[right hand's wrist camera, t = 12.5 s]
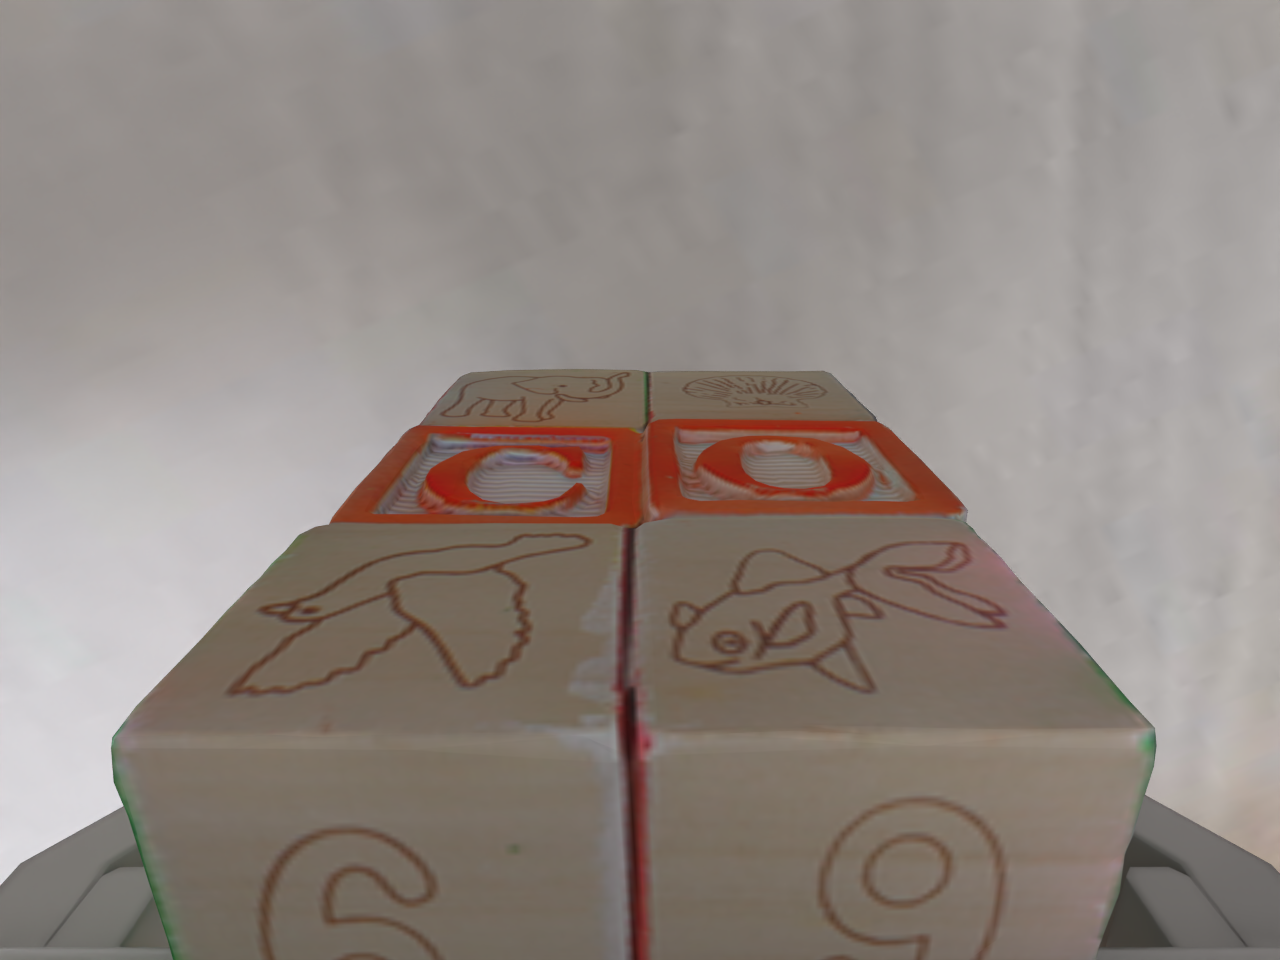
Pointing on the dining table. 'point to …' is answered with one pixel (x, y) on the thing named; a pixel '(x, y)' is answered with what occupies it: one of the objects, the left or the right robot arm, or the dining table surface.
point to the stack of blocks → (637, 703)
